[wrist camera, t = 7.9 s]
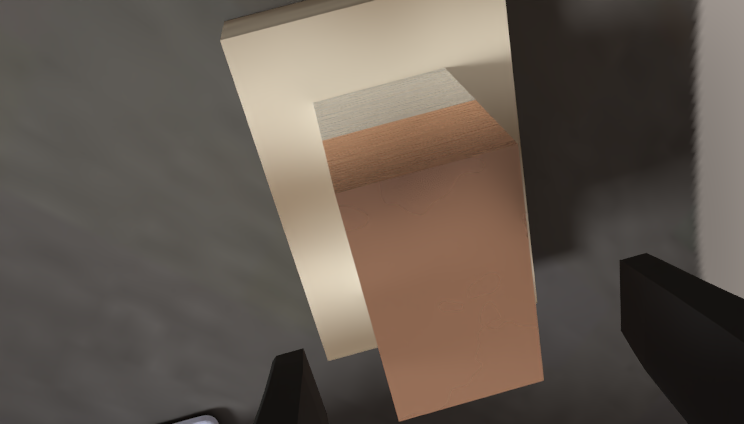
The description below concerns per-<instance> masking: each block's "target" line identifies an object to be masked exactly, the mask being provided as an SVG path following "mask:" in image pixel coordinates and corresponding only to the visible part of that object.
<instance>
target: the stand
mask: <svg viewBox="0 0 744 424" xmlns="http://www.w3.org/2000/svg"><path fill="white" fill-rule="evenodd" d="M220 41H221V44H222V47H223V50H224V53H225V56H226V59H227V62H228V65H229V68H230V71H231V74H232V77H233V80H234V83H235V86H236V89H237V92H238V95H239V98H240V100H241V103H242V106H243V109H244V112H245V115H246V118H247V121H248V124H249V127H250V130H251V133H252V136H253V139H254V142H255V145H256V148H257V151H258V154H259V157H260V160H261V163H262V166H263V169H264V172H265V175H266V178H267V181H268V184H269V187H270V190H271V192H272V195H273V198H274V201H275V204H276V207H277V210H278V213H279V216H280V219H281V222H282V225H283V228H284V231H285V234H286V237H287V240H288V243H289V246H290V249H291V252H292V255H293V258H294V261H295V264H296V267H297V270H298V273H299V276H300V279H301V282H302V284H303V287H304V290H305V293H306V296H307V299H308V302H309V305H310V308H311V311H312V314H313V317H314V320H315V323H316V326H317V329H318V332H319V335H320V338H321V341H322V344H323V347H324V350H325V353H326V356H327V359H328V361H330V360H334V359H338V358H341V357H345V356H348V355H352V354H356V353H359V352H363V351H366V350H370V349H374V348H377V347H378V345H377V342H376V338H375V335H374V331H373V327H372V324H371V320H370V317H369V313H368V310H367V306H366V303H365V299H364V295H363V292H362V288H361V285H360V281H359V278H358V274H357V271H356V267H355V263H354V260H353V256H352V253H351V249H350V246H349V242H348V239H347V235H346V231H345V228H344V224H343V221H342V217H341V214H340V210H339V207H338V203H337V199H336V196H335V192H334V188H333V184H332V180H331V175H330V171H329V167H328V163H327V159H326V155H325V151H324V146H323V142H322V138H321V134H320V130H319V126H318V122H317V117H316V113H315V109H314V105H313V102H317V101H321V100H325V99H329V98H332V97H336V96H340V95H344V94H347V93H351V92H355V91H359V90H363V89H366V88H370V87H374V86H378V85H381V84H385V83H389V82H393V81H396V80H400V79H404V78H408V77H412V76H415V75H419V74H423V73H427V72H430V71H434V70H438V69H442V68H445V69H446V70H447V71H448V72H449V73H450V74H451V75H452V76H453V77H454V78H455V79H456V80H457V81H458V82H459V83H460V84H461V85H462V86H463V87H464V88H465V89H466V90H467V91H468V93H469V94H470V95H471V96H472V97H473V98H474V99H475V100H476V101H477V102H478V103H479V104H480V105H481V106H482V107H483V108H484V109H485V110H486V111H487V112H488V113H489V114H490V115H491V116H492V117H493V119H494V120H495V121H496V122H497V123H498V124H499V125H500V126H501V127H502V128H503V129H504V130H505V131H506V132H507V133H508V134H509V135H510V136H511V137H512V138H513V139H514V140H515V141H516V142H517V143H518V146H519V156H520V165H521V174H522V183H523V192H524V202H525V211H526V220H527V229H528V238H529V248H530V257H531V266H532V275H533V284H534V294H535V303H537V297H536V287H535V278H534V268H533V259H532V249H531V240H530V230H529V221H528V211H527V202H526V192H525V183H524V173H523V164H522V154H521V145H520V135H519V126H518V116H517V107H516V97H515V88H514V78H513V69H512V59H511V50H510V40H509V30H508V21H507V11H506V2H505V0H306V1H302V2H298V3H294V4H290V5H286V6H283V7H279V8H275V9H271V10H267V11H263V12H259V13H255V14H251V15H248V16H244V17H240V18H236V19H232V20H228V21H224V26H223V30H222V35H221V39H220Z"/></svg>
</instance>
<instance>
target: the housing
mask: <svg viewBox="0 0 744 424" xmlns="http://www.w3.org/2000/svg"><path fill="white" fill-rule="evenodd" d="M313 105H314V109H315V113H316V117H317V122H318V126H319V130H320V134H321V138H322V142H323V146H324V151H325V155H326V159H327V163H328V167H329V171H330V175H331V180H332V184H333V188H334V192H335V196H336V199H337V203H338V207H339V210H340V214H341V217H342V221H343V224H344V228H345V231H346V235H347V239H348V242H349V246H350V249H351V253H352V256H353V260H354V263H355V267H356V271H357V274H358V278H359V281H360V285H361V288H362V292H363V295H364V299H365V303H366V306H367V310H368V313H369V317H370V320H371V324H372V327H373V331H374V335H375V338H376V342H377V345H378V349H379V352H380V356H381V359H382V363H383V367H384V370H385V374H386V377H387V381H388V384H389V388H390V391H391V395H392V399H393V402H394V406H395V409H396V413H397V416H398V420H399V422H400V421H403V420H407V419H410V418H414V417H417V416H421V415H424V414H428V413H431V412H435V411H438V410H442V409H445V408H449V407H452V406H456V405H459V404H463V403H466V402H470V401H473V400H477V399H481V398H484V397H488V396H491V395H495V394H498V393H502V392H505V391H509V390H512V389H516V388H519V387H523V386H526V385H530V384H533V383H537V382H540V381H544V377H543V367H542V358H541V349H540V340H539V331H538V321H537V312H536V303H535V294H534V284H533V275H532V266H531V257H530V248H529V238H528V229H527V220H526V211H525V202H524V192H523V183H522V174H521V165H520V156H519V146H518V143H517V142H516V141H515V140H514V139H513V138H512V137H511V136H510V135H509V134H508V133H507V132H506V131H505V130H504V129H503V128H502V127H501V126H500V125H499V124H498V123H497V122H496V121H495V120H494V119H493V117H492V116H491V115H490V114H489V113H488V112H487V111H486V110H485V109H484V108H483V107H482V106H481V105H480V104H479V103H478V102H477V101H476V100H475V99H474V98H473V97H472V96H471V95H470V94H469V93H468V91H467V90H466V89H465V88H464V87H463V86H462V85H461V84H460V83H459V82H458V81H457V80H456V79H455V78H454V77H453V76H452V75H451V74H450V73H449V72H448V71H447V70H446V69H445V68H442V69H438V70H434V71H430V72H427V73H423V74H419V75H415V76H412V77H408V78H404V79H400V80H396V81H393V82H389V83H385V84H381V85H378V86H374V87H370V88H366V89H363V90H359V91H355V92H351V93H347V94H344V95H340V96H336V97H332V98H329V99H325V100H321V101H317V102H313Z"/></svg>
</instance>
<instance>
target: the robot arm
mask: <svg viewBox="0 0 744 424" xmlns="http://www.w3.org/2000/svg"><path fill="white" fill-rule="evenodd" d="M620 298H621V331H622V333H623V335H624V336H625V338H626V340H627V341H628V343H629V345H630V346H631V348H632V350H633V351H634V353H635V355H636V356H637V358H638V359H639V361H640V363H641V364H642V366H643V367H644V369H645V370H646V371H647V373H648V374H649V375H650V377H651V378H652V379H653V380H654V382H655V383H656V384H657V385H658V387H659V388H660V389H661V390H662V392H663V393H664V394H665V395H666V397H667V398H668V399H669V400H670V402H671V403H672V404H673V405H674V407H675V408H676V409H677V410H678V412H679V413H680V414H681V415H682V416H683V418H684V419H685V420H686V421H687V423H688V424H744V299H743V298H741V297H738V296H736V295H734V294H732V293H729V292H727V291H725V290H723V289H721V288H718V287H716V286H714V285H712V284H710V283H708V282H706V281H704V280H702V279H700V278H698V277H696V276H693V275H691V274H689V273H687V272H685V271H683V270H681V269H679V268H677V267H675V266H673V265H671V264H669V263H667V262H665V261H662V260H660V259H658V258H656V257H654V256H652V255H649V254H647V253H645V254H641V255H637V256H634V257H630V258H627V259H623V260H620ZM174 424H219V423H218V421H217V420H216V419H215V418H214V417H212V416H209V415H203V416H199V417H195V418H192V419H188V420H185V421H181V422H177V423H174ZM253 424H329V423H328V418H327V413H326V410H325V407H324V405H323V402H322V399H321V396H320V393H319V391H318V388H317V385H316V382H315V380H314V377H313V374H312V371H311V368H310V366H309V363H308V360H307V357H306V354H305V352H304V349H300V350H296V351H292V352H289V353H285V354H282V355H278V356H276V357H275V359H274V360H273V362H272V366H271V370H270V374H269V378H268V381H267V385H266V388H265V391H264V394H263V397H262V401H261V404H260V407H259V410H258V412H257V415H256V418H255V420H254V423H253Z"/></svg>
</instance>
